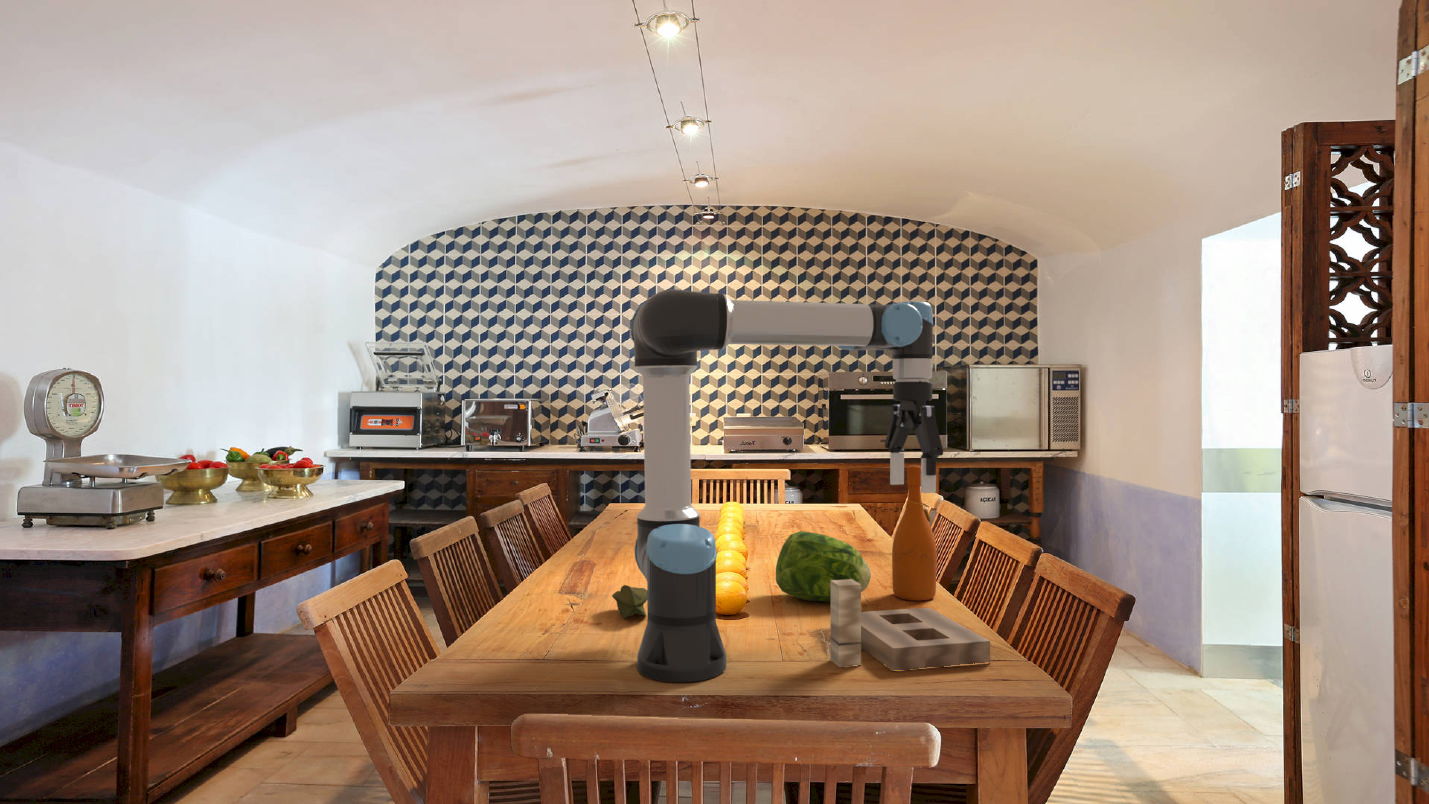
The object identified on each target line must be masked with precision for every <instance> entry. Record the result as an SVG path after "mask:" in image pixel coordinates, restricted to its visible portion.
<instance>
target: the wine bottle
mask: <svg viewBox="0 0 1429 804" xmlns="http://www.w3.org/2000/svg"><path fill="white" fill-rule="evenodd" d="M906 472H907V481H906V485H907V486H908V492H907V493H908V494H907V500H906V504H905V509H904V512H903V515H902V516H901V519H900V521H899V524H898V526H897V528H896V531H895V533H894V538H893V541H892V549H891V553H892V554H891V568H892V570H891V571H892V592H893V595H894V596H896V597H897V598H899V599H902V600H906V601H913V602H915V601H920V602H922V601H928V600H931V599H933V598H934V597H935V596H936V593H937V592H936V591H937V571H938V569H937V566H938V565H937V564H938V563H937V559H938V558H937V557H938V556H937V543H936V539H935V536H934V533H933V529H932V526H931V525H930V522H931V518H930V514H929V510H928V509H925V508H924V504H923V502H922V494H921V465H918V464H910V465H908V466H907V468H906Z"/></svg>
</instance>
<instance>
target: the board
mask: <svg viewBox="0 0 1429 804" xmlns="http://www.w3.org/2000/svg"><path fill="white" fill-rule="evenodd" d="M861 649H862V650H864V651H865V650H866V651H865V652H867V653H868V654H869V653H870V654H871V655H870V654H869V655H870V656H872V657H873V658H874V659H875V658H876V659H875V660H877V661H878V662H879V661H881V662H882V663H883V664H885V665H886V666H887V667H889V668H890V669H891V670H893V671H894V670H910V669H919V668H927V667H944V666H951V665H960V664H973V663H974V664H975V663H985V662H990V663H991V641H990V640H989V639H987V638H985V637H984V636H982V635H980V634H979V633H977V632H975V631H973V630H971V629H969V628H967V627H965V626H964V625H963V624H960V623H958V622H956V621H955V620H953V619H951V618H949V617H948V616H946V615H944V614H942V613H940V612H939V611H936V610H935V609H933V608H931V607H916V608H904V609H903V608H900V609H888V610H887V609H886V610H885V609H883V610H871V611H861ZM881 662H880V663H881ZM882 663H881V664H882ZM883 664H882V665H883ZM886 666H885V667H886ZM887 667H886V668H887ZM891 670H890V671H891Z"/></svg>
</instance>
